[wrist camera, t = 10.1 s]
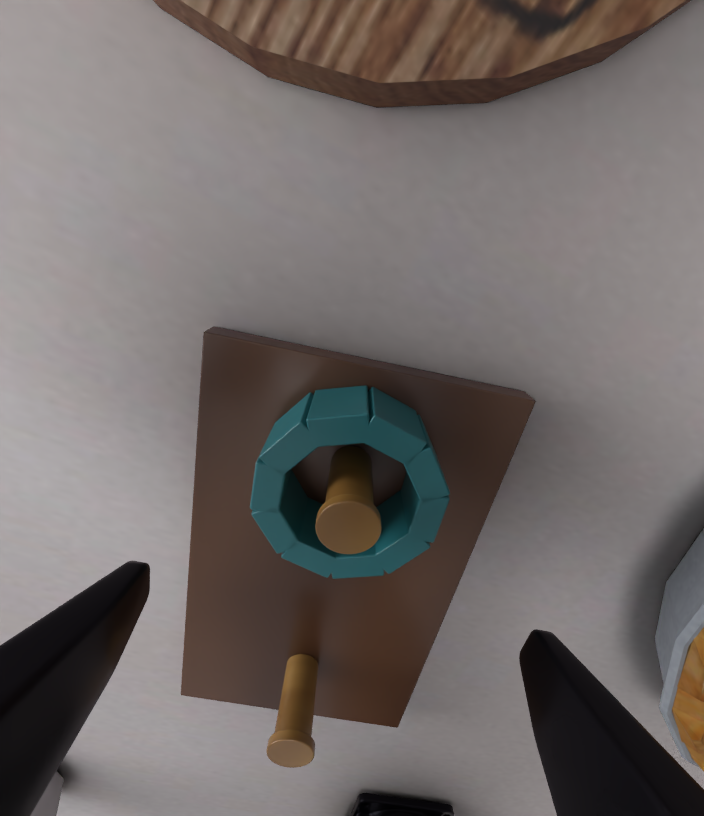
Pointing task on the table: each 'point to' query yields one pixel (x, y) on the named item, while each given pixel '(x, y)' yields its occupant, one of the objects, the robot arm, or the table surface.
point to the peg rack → (326, 539)
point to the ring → (296, 513)
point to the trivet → (420, 42)
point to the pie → (684, 654)
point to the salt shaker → (50, 798)
